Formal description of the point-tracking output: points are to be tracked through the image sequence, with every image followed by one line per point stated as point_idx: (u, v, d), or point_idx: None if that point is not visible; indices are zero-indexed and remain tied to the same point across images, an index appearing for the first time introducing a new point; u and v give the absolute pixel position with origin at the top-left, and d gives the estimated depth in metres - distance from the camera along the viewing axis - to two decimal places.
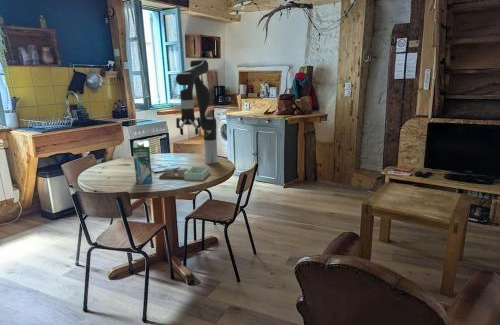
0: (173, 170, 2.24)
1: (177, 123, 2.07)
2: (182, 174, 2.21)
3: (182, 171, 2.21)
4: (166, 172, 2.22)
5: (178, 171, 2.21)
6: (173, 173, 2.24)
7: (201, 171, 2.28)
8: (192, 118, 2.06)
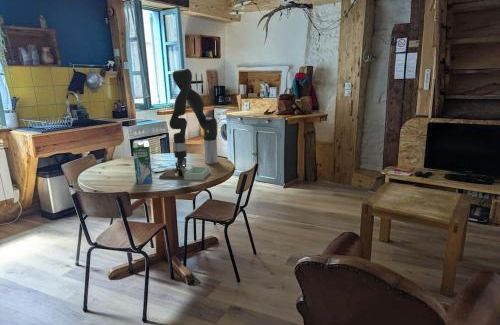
0: (173, 170, 2.24)
1: (180, 167, 2.17)
2: (182, 174, 2.21)
3: (182, 171, 2.21)
4: (166, 172, 2.22)
5: None
6: (173, 173, 2.24)
7: (201, 171, 2.28)
8: (184, 158, 2.24)
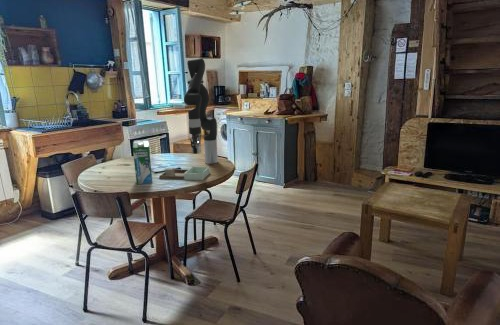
0: (173, 170, 2.24)
1: (194, 143, 2.15)
2: (197, 151, 2.19)
3: (197, 148, 2.19)
4: (166, 172, 2.22)
5: (192, 148, 2.19)
6: (173, 173, 2.24)
7: (201, 171, 2.28)
8: (198, 135, 2.22)
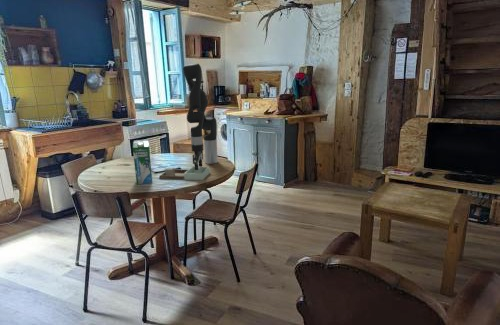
0: (173, 170, 2.24)
1: (196, 159, 2.16)
2: None
3: (199, 170, 2.22)
4: (166, 172, 2.22)
5: (195, 170, 2.22)
6: (173, 173, 2.24)
7: None
8: (200, 152, 2.24)
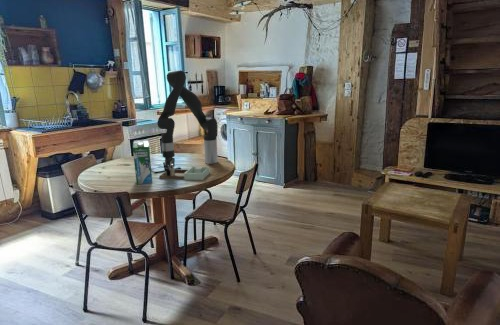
0: (173, 170, 2.24)
1: (167, 166, 2.18)
2: None
3: (199, 170, 2.22)
4: (166, 172, 2.22)
5: (195, 170, 2.22)
6: (173, 173, 2.24)
7: None
8: (172, 158, 2.25)
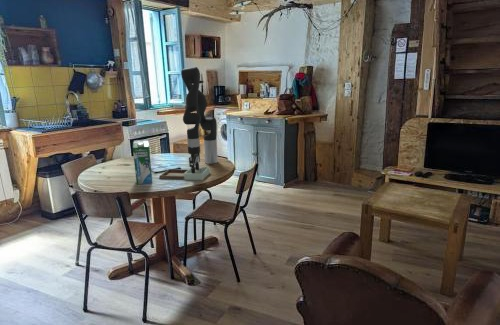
0: (199, 172, 2.17)
1: (193, 162, 2.10)
2: None
3: None
4: None
5: None
6: None
7: None
8: (197, 154, 2.18)
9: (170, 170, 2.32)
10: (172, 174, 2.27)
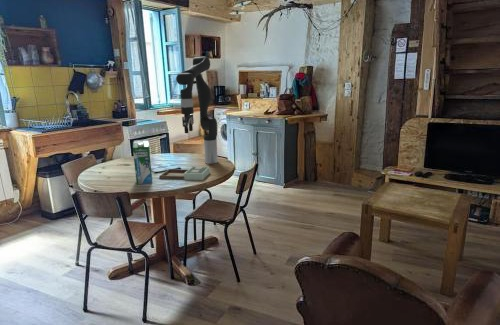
0: (199, 172, 2.17)
1: (186, 122, 2.12)
2: None
3: None
4: None
5: None
6: None
7: None
8: (190, 115, 2.20)
9: (170, 170, 2.32)
10: (172, 174, 2.27)
